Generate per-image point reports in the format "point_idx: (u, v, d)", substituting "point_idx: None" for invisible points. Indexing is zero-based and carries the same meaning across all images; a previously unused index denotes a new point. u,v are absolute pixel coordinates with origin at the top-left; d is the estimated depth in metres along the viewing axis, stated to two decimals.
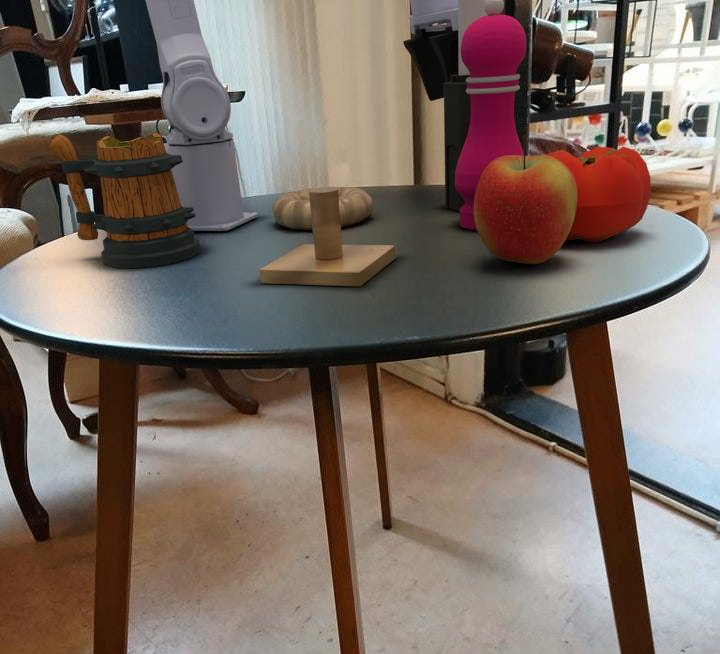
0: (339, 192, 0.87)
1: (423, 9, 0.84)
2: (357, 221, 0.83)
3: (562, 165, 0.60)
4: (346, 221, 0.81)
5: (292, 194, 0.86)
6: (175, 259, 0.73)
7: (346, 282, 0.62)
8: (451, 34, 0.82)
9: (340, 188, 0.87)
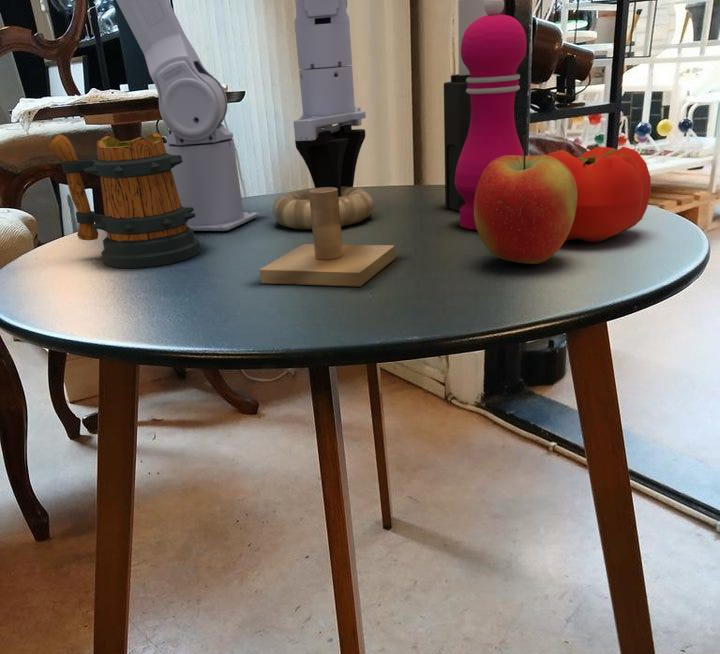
0: None
1: (303, 110, 0.83)
2: (357, 221, 0.83)
3: (562, 165, 0.60)
4: (346, 221, 0.82)
5: (293, 194, 0.86)
6: (175, 259, 0.73)
7: (346, 282, 0.62)
8: (306, 140, 0.82)
9: (341, 188, 0.87)
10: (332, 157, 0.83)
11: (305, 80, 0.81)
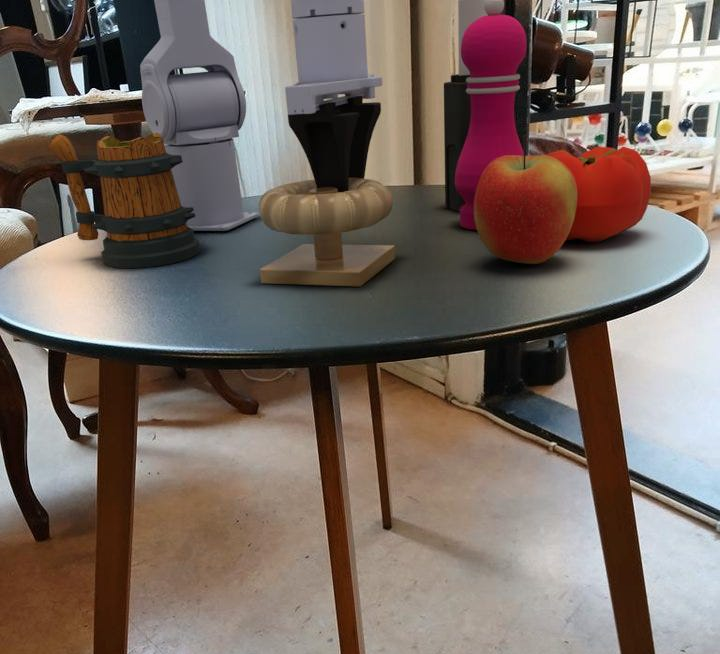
0: None
1: (298, 75, 0.62)
2: (371, 223, 0.62)
3: (562, 165, 0.60)
4: (357, 223, 0.60)
5: (285, 187, 0.65)
6: (175, 259, 0.73)
7: (346, 282, 0.62)
8: (303, 115, 0.61)
9: (349, 180, 0.66)
10: (337, 138, 0.62)
11: (301, 33, 0.60)
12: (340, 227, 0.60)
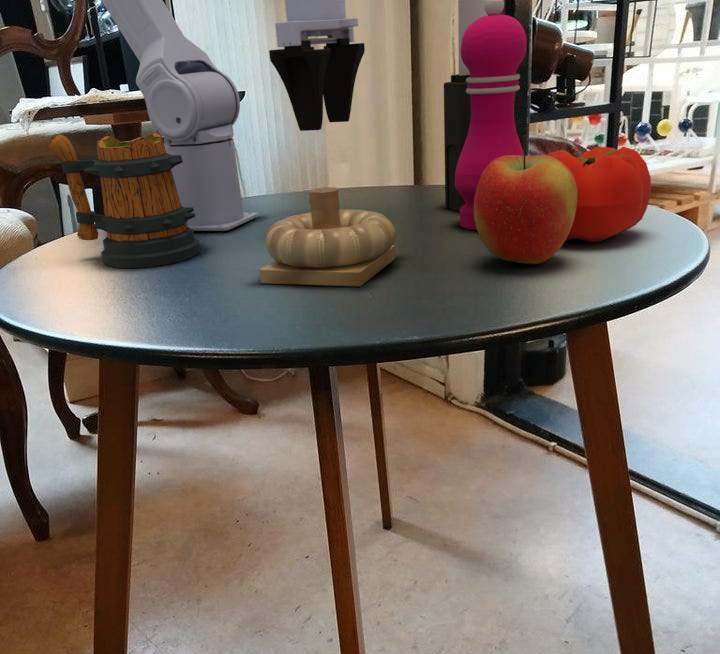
0: (351, 217, 0.67)
1: (287, 17, 0.73)
2: (375, 256, 0.63)
3: (562, 165, 0.60)
4: (361, 257, 0.62)
5: (291, 220, 0.66)
6: (175, 259, 0.73)
7: (346, 282, 0.62)
8: (282, 50, 0.71)
9: (353, 212, 0.68)
10: (312, 71, 0.71)
11: None
12: (345, 261, 0.62)
